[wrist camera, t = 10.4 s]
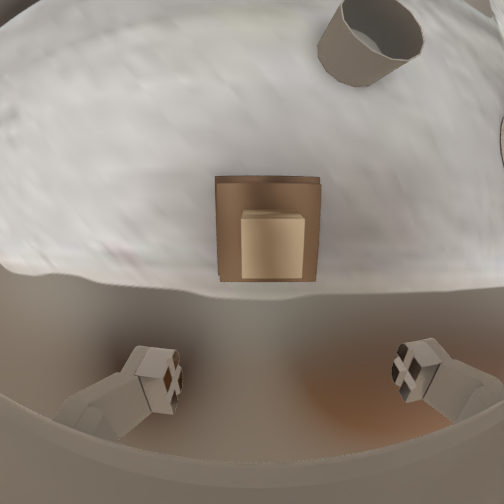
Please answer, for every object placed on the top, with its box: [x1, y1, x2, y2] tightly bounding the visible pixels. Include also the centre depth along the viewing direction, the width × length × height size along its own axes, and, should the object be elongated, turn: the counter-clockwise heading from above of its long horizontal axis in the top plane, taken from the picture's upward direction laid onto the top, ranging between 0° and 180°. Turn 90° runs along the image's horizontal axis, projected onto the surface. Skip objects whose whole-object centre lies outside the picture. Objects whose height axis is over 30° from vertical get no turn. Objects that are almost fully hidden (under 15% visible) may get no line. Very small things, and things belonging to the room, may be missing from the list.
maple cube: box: [241, 209, 305, 279], centre depth 24 cm, size 5×5×5 cm
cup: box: [317, 0, 425, 87], centre depth 19 cm, size 8×8×10 cm
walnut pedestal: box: [215, 176, 321, 282], centre depth 29 cm, size 11×11×4 cm
